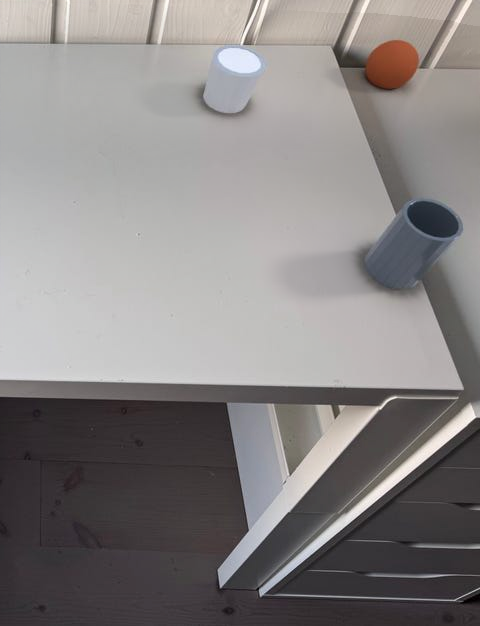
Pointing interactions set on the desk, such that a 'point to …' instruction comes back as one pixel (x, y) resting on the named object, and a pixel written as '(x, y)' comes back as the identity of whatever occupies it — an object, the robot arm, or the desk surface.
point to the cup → (413, 243)
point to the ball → (392, 64)
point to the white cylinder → (233, 78)
